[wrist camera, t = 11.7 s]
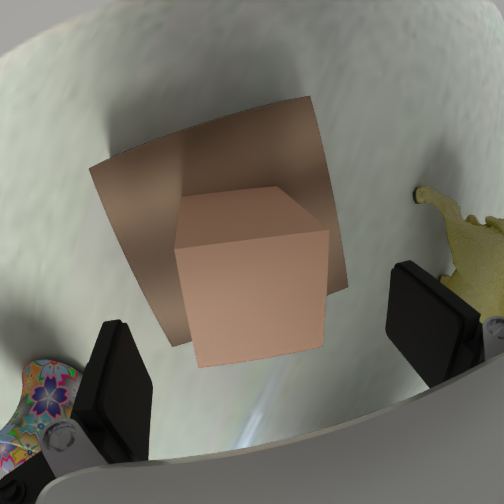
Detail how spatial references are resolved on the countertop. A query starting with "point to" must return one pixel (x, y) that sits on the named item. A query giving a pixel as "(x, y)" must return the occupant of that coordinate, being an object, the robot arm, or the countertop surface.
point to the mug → (37, 409)
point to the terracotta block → (251, 275)
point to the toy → (472, 255)
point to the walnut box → (213, 191)
